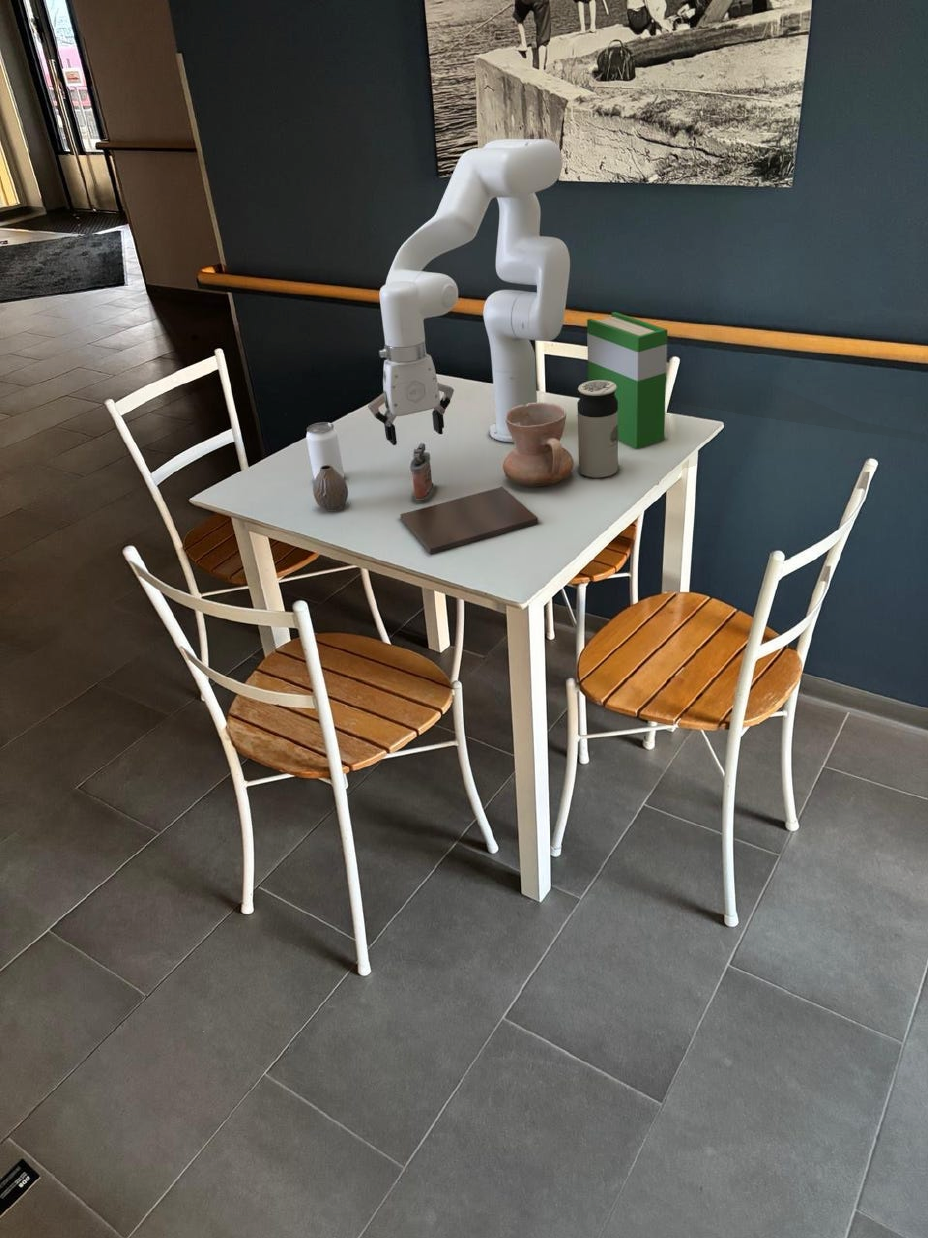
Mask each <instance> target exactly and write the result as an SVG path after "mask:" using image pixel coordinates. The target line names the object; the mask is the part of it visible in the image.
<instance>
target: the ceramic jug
mask: <svg viewBox="0 0 928 1238" xmlns="http://www.w3.org/2000/svg"><path fill="white" fill-rule="evenodd" d="M505 419H506V424H507V427H508V430H509V432H510V435H511V437H512V439H513V441H514V442H513V443H514V445H515V447H516V448H514V449H513V450H512V451H510V452H509V453H508V454H507V455H506V456H505V458H504V460H503V462H502V470H503V473H504V475H505V477H507V478H508V479H509V480H510V481H512V482H513V483H515V484H518V485H521V486H526V487H547V486H552V485H554V484H558V483H560V482H562V481H564V480H565V479H566V478H568V477H569V476H570V475H571V473H572V472H573V471H574V466H575V461H574V458H573V456H572V454H571V452H570V451H568V450H567V449H566V448H564V447H563V444H562V443H561V439H562V436H563V433H564V431H565V426H566V420H567V410H566V408H565V407H564V406H562V405H560V404H556V403H552V402H551V403H550V402H540V401H537V402H536V403H528V404H527V405H526V406H524V405H519V406H516V407H514V408H512V409H510V410H509V411H508V412H507V413H506V416H505ZM518 422H519V425H515V424H514V423H518Z"/></svg>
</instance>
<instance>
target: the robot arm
mask: <svg viewBox="0 0 928 1238" xmlns="http://www.w3.org/2000/svg"><path fill="white" fill-rule="evenodd" d="M562 169H563V155H562V152H561V149H560V147H559V146H558V144H556V142H554V141H553V140H550V139H547V138H502V139H500V138H499V139H494V140H491V141H489V142H487V143H486V144H485V145H483V147H476V148H472V149H468V150H466V151H465V152H464V153H462V155H461V156H460V157H459V159H458V161H457V163H456V165H455V168H454V170H453V173H452V175H451V177H450V179H449V181H448V183H447V184H448V185H447V186H446V188H445V191H444V193H443V195H442V198H441V200H440V202H439V205H438V208H437V210H436V212H435V214H433V215H434V216H432V218H430V219H429V220H428V221H426V222H425V223H423V224H422V225H421V226H420V227H419V228H418V229H417V230H416V231H414V233H412V234H411V235H410V236H409V237H408V238H407V239H406V240H405V241H404V242H403V244H401V247H400V248H399V249H398V251H397V253H396V255H395V257H394V259H393V261H392V264H391V266H390V268H389V271H388V274H387V276H386V280H385V283H384V285H382V286H381V287H380V289H379V294H378V295H379V296H378V297H379V304H380V312H381V320H382V329H383V330H382V331H383V338H384V347H383V348H382V349H380V350H378V356H379V358H384V359H385V360H384V361H383V372H382V373H383V374H382V375H383V376H382V377H383V378H382V387H383V392H382V393H381V394H380V395H379V396H377V397H376V398H375V399H373V400H372V401H371V402H370V403H368V405H367V408H368V409H369V411H370V412H371V413H372V415H373V416H374V417H375V418H376V420H378V421H379V422H381V423H382V424H383V425H384V434H385V438H386V440H387V441H388V442H389V443H390V444H391V445H392V446H397V444H398V441H397V433H396V432H397V431H396V426H395V424H394V421H395V419H396V418H397V417H402V416H407V415H408V416H409V415H413V414H417V413H422V412H426V411H429V410H432V411H431V414H432V424H433V430H434V432H436V433H437V434H438V435H443V434H444V431H443V429H444V428H445V422H444V414H445V413H446V410H447V408H448V407H449V405H450V404H451V399H452V397H453V395H454V392H455V389H454V388H453V387H452V386H450V385H447V384H443V383H440V382H438V377H437V372H436V368H435V364H434V361H433V360H434V359H433V358H432V355H431V354H430V353H429V354H428V353H427V345H426V335H425V334H426V333H425V324H424V320H425V319H429V318H434V317H440V316H443V315H446V314H448V313H449V312H451V310H453V309H454V308H455V306H456V304H457V303H458V298H459V289H458V285H457V283H456V282H455V280H454V279H453V278H452V277H451V276H449V275H447V274H445V273H442V272H441V273H440V272H430V271H424V268H425V267H426V266H427V265H428V264H429V263H430V262H431V261H433V260H434V259H435V258H437V257H439V256H440V255H443V254H445V253H448V252H449V251H453V250H455V249H457V248H460V247H463V245H466V244H467V243H470V242H472V240H474V238H475V237H476V236H477V234H478V231H479V229H480V227H481V224H482V222H483V219H484V216H485V215H486V212H487V210H488V207H489V205H490V202H491V200H492V199H494V198H496V200H497V204H498V209H499V210H498V211H499V217H498V218H499V219H498V228H497V229H498V231H497V239H496V241H497V242H496V250H495V251H496V252H495V272H496V275H497V276H498V278H499V279H500V280H502V281H504V282H506V283H511V284H518V285H529V286H536V292H535V291H526V290H516V289H500V290H497V291H494V292H492V293H491V294H490V295H489V296H487V298H486V299H485V302H484V306H483V311H482V314H483V315H482V317H483V322H484V326H485V330H486V334H487V337H488V341H489V347H490V358H491V370H492V372H491V373H492V384H493V398H494V413H495V414H494V415H495V422H494V423H493V424H492V425H491V426H490V428H489V434H490V437H492V438H493V439H494V440H496V441H499V442H505V443H514V441H513V439H512V437H511V435H510V432H509V430H508V427H507V424H506V419H505V416H506V413H507V412H508V411H509V410H510V409H512V408H514V407H516V406H519V405H524V406H526V405H527V404H528V403H536V402H538V391H537V390H538V389H537V371H536V370H537V369H536V355H535V350H534V348H533V345H532V343H531V341H537V342H550V341H553V340H555V339H556V338H557V337H558V336H559V334H560V333H561V331H562V328H563V325H564V319H565V313H566V305H567V296H568V289H569V280H570V271H571V258H570V252H569V249H568V247H567V245H566V243H565V242H564V241H563V240H561V239H560V238H558V237H554V236H544V235H543V236H542V235H540V231H541V230H540V229H541V214H542V213H541V212H542V211H541V206H540V201H539V200H538V199H539V198H538V197H537V195H536V193H538V192H541V191H543V190H546V189H548V188H550V187H551V186H553V185H554V184H555V183H556V182H557V180H558V179H559V177H560V175H561V172H562ZM440 392H441V393H443V396H442V398H441V394H440ZM382 405H384V407H385V409H386V410H385V412H384V413H381V412H380V410H379V408H380V407H381V406H382ZM514 424H515V425H519V422H518V423H514Z"/></svg>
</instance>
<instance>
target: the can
mask: <svg viewBox="0 0 928 1238" xmlns="http://www.w3.org/2000/svg"><path fill="white" fill-rule="evenodd" d="M306 431H307V432H306V435H305V436H306V444H307V449H308V453H309V459H310V464H311V470H312V475H313V479H314V481H315V479H316V477H317V475H318V473H319V471H320V468H321V467H322V466H324V465H331V466H332V467H333V468H334V469H335V470H336V471H337V472H338V473H339V474H340V475H341V476H342V477H343V478H344V479H345V472H344V467H343V466H344V465H343V459H342V453H341V448H340V443H339V436H338V431H337V430H336V428H335V426H334V423H331V422H328V421H322V422H316V423H313V424H310V425H308V427H307V428H306Z"/></svg>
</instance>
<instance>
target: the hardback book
mask: <svg viewBox="0 0 928 1238" xmlns="http://www.w3.org/2000/svg"><path fill="white" fill-rule="evenodd" d="M586 335H587V336H586V337H587V339H586V340H587V345H586V346H587V382H589V381H595V380H604V381H610V382H613V383H615V384H616V386H617V388H616V390H615V394H614V395H615V397H616V399H617V401H618V441H620V442H622V443H624V444H626V445H628V446H630V447H633V448H634V449H641V448H644V447H646V446H649V445H652V444H656V443H659V442H661V441H664V440H665V425H666V424H665V423H666V419H665V418H666V392H667V390H666V389H667V361H668V360H667V359H668V358H667V357H668V328H664V327H662V326H658V325H655V324H651V323H649V322H646V321H644V320H641V319H637V318H634V317H631V316H629V315H625V314H622V313H620V312H617V311H616V312H615V311H614V312H611V316H610V317H606V318H603V319H599V320H596V319H594V318H587V319H586Z"/></svg>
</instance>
